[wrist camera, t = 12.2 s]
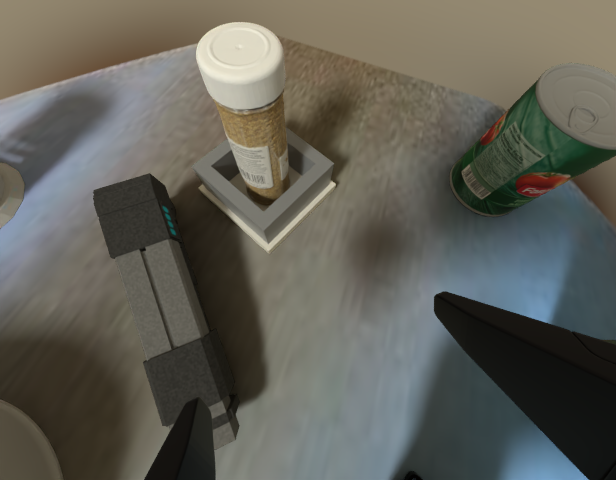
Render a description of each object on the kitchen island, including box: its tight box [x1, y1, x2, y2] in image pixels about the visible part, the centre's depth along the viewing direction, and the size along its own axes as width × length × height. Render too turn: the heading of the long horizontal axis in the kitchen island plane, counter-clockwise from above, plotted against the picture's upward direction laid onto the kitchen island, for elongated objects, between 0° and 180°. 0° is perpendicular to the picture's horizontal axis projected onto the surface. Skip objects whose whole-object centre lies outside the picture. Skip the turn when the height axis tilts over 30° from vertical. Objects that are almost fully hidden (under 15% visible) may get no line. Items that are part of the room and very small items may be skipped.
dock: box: [191, 127, 336, 255], centre depth 24 cm, size 10×10×4 cm
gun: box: [93, 173, 239, 450], centre depth 20 cm, size 4×20×10 cm, turn 23°
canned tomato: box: [449, 63, 616, 217], centre depth 22 cm, size 8×8×11 cm
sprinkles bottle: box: [196, 22, 290, 205], centre depth 19 cm, size 5×5×14 cm
